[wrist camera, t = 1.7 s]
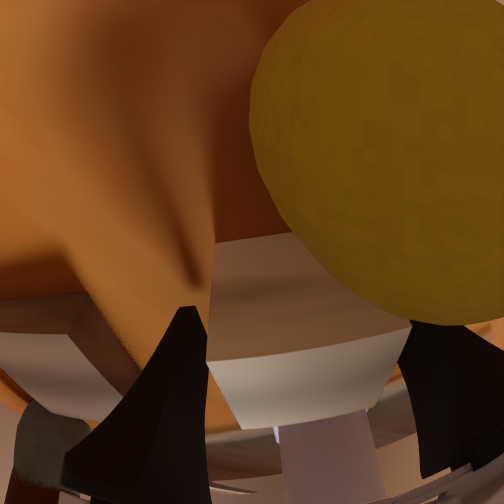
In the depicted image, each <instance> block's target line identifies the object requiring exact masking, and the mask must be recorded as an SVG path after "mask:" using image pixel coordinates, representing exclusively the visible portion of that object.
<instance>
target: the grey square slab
mask: <svg viewBox="0 0 504 504" xmlns="http://www.w3.org/2000/svg"><path fill="white" fill-rule="evenodd" d="M0 368H1V369H2V370H3V371H4V372H5V373H6V374H7V375H8V376H9V377H11V378H12V379H13V380H14V381H15V382H16V383H17V384H18V385H19V386H20V387H21V388H22V389H23V390H25V391H26V392H27V393H28V394H29V395H30V396H31V397H33V398H34V399H35V400H36V401H37V402H39V403H40V404H41V405H42V406H44V407H45V408H46V409H47V410H49V411H50V412H51V413H54V414H58V415H63V416H67V417H72V418H77V419H82V420H88V421H93V422H99V423H101V422H102V421H103V420H104V419H105V418H106V417H107V416H108V415H109V414H110V413H111V411H112V410H113V409H114V408H115V407H116V406H117V404H118V403H119V402H120V401H121V400H122V398H123V397H124V396H125V395H126V393H127V392H128V391H129V389H130V388H131V387H132V385H133V384H134V383H135V381H136V380H137V378H138V377H139V375H140V374H141V372H142V371H141V370H140V368H139V367H138V366H137V364H136V363H135V362H134V361H133V359H132V358H131V357H130V355H129V354H128V353H127V351H126V350H125V349H124V347H123V346H122V344H121V343H120V342H119V340H118V339H117V337H116V336H115V335H114V333H113V332H112V330H111V329H110V327H109V326H108V324H107V323H106V321H105V320H104V318H103V317H102V315H101V314H100V312H99V311H98V309H97V308H96V306H95V304H94V303H93V301H92V300H91V298H90V296H89V295H88V293H87V292H84V293H74V294H64V295H54V296H44V297H33V298H22V299H11V300H0Z"/></svg>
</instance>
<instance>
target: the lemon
mask: <svg viewBox="0 0 504 504" xmlns="http://www.w3.org/2000/svg"><path fill="white" fill-rule="evenodd" d="M248 124H249V131H250V136H251V141H252V145H253V150H254V155H255V160H256V165H257V169H258V171H259V174H260V176H261V178H262V180H263V182H264V184H265V186H266V188H267V190H268V192H269V194H270V196H271V198H272V200H273V202H274V204H275V206H276V208H277V210H278V212H279V213H280V215H281V217H282V218H283V220H284V221H285V223H286V224H287V225H288V227H289V228H290V229H291V231H292V232H293V233H294V234H295V235H296V236H297V237H298V239H299V240H300V241H301V242H302V243H303V244H304V245H305V247H306V248H307V249H308V250H309V251H310V252H311V253H312V255H313V256H314V257H315V258H316V259H317V260H318V261H319V263H320V264H321V265H322V266H323V267H324V268H325V269H326V270H327V271H328V272H329V273H330V274H331V275H332V276H333V277H334V278H335V279H336V280H338V281H339V282H340V283H341V284H343V285H344V286H346V287H347V288H349V289H350V290H351V291H353V292H354V293H356V294H357V295H359V296H361V297H362V298H364V299H365V300H367V301H369V302H370V303H372V304H373V305H375V306H377V307H378V308H380V309H381V310H384V311H386V312H388V313H391V314H393V315H396V316H398V317H401V318H405V319H410V320H415V321H420V322H425V323H431V324H437V325H443V326H447V325H468V324H475V323H481V322H486V321H490V320H494V319H498V318H502V317H504V6H503V5H502V4H500V3H499V2H497V1H496V0H310V1H308V2H306V3H305V4H303V5H302V6H300V7H299V8H297V9H296V10H294V11H293V12H292V13H291V14H289V16H288V17H287V18H286V19H285V21H284V22H283V23H282V24H281V26H280V27H279V28H278V30H277V31H276V32H275V34H274V35H273V36H272V37H271V39H270V40H269V41H268V43H267V44H266V45H265V47H264V49H263V52H262V54H261V57H260V60H259V63H258V66H257V68H256V71H255V74H254V77H253V80H252V83H251V90H250V106H249V123H248Z"/></svg>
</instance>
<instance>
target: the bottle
mask: <svg viewBox="0 0 504 504" xmlns="http://www.w3.org/2000/svg"><path fill="white" fill-rule="evenodd" d="M90 433H91V429H90V427H89V426H88V425H87V424H86V423H85V422H83V421H82V420H80V419H77V418H72V417H67V416H63V415H58V414H54V413H51V412H50V411H49V410H47V409H46V408H45V407H44V406H42V405H41V404H40V403H39V402H37V401H36V400H31V402H30V403H29V404H28V406H27V407H26V409H25V410H24V413H23V415H22V417H21V419H20V422H19V424H18V426H17V432H16V440H15V449H14V466H13V470H12V473H11V477H10V481H9V485H8V489H7V493H6V498H5V503H4V504H59V495H60V492H61V491H63V492H66V493H69V494H71V495H74V496H77V497H80V494H81V493H79V492H76V491H73V490H71V489H68V488H65V487H63V486H61V485H60V477H61V471H62V466H63V460H64V455H65V453H67V452H68V451H69V450H71V449H72V448H73V447H74V446H76V445H77V444H78V443H79V442H80V441H82V440H83V439H84V438H85V437H86V436H88V435H89V434H90Z"/></svg>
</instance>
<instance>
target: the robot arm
mask: <svg viewBox="0 0 504 504" xmlns="http://www.w3.org/2000/svg"><path fill="white" fill-rule="evenodd" d="M409 321H410V323H411V325H412V328H411V331H410V333H409V336H408V338H407V341H406V343H405V345H404V348H403V350H402V352H401V354H400V357H399V359H398V361H397V363H398V366H399V368H400V370H401V373H402V375H403V378H404V380H405V383H406V386H407V389H408V392H409V396H410V400H411V404H412V408H413V413H414V418H415V423H416V429H417V436H418V444H419V455H420V473H421V476H422V479H425V478H427V477H429V476H432V475H434V474H436V473H438V472H440V471H442V470H444V469H446V468H448V467H450V468H451V473H449V474H447V475H445V476H443V477H441V478H439V479H437V480H434V481H432V482H430V483H428V484H426V485H423V486H421V487H419V488H416V489H414V490H411V491H409V492H406V493H404V494H401V495H399V496H396V497H393V498H386V499H382V500H379V501H376V502H372V503H368V504H420V503H422V502H424V501H427V500H429V499H431V498H433V497H435V496H437V495H439V496H438V499H437V500H434V501H431V502H428V503H425V504H504V351H503V350H501V349H500V348H498V347H496V346H494V345H493V344H491V343H489V342H488V341H486V340H484V339H483V338H481V337H480V336H478V335H477V334H475V333H474V332H472V331H471V330H469V329H468V328H467V327H465V326H464V325H447V326H443V325H437V324H431V323H425V322H420V321H415V320H410V319H409ZM206 351H207V334H206V331H205V329H204V326H203V324H202V321H201V319H200V316H199V314H198V311H197V309H196V306H185V307H179V309H178V310H177V312H176V314H175V315H174V317H173V319H172V321H171V323H170V325H169V327H168V329H167V330H166V332H165V334H164V336H163V338H162V339H161V341H160V343H159V345H158V346H157V348H156V350H155V352H154V353H153V355H152V357H151V358H150V360H149V361H148V363H147V364H146V366H145V368H144V369H143V371H142V372H141V374H140V375H139V377H138V378H137V380H136V381H135V383H134V384H133V385H132V387H131V388H130V389H129V391H128V392H127V393H126V395H125V396H124V397H123V398H122V400H121V401H120V402H119V403H118V404H117V406H116V407H115V408H114V409H113V410H112V411H111V413H110V414H109V415H108V416H107V417H106V418H105V419H104V420H103V421H102V422H101V423H100V424H99V425H98V426H97V427H96V428H95V429H94V430H93V431H92V432H91V433H90V434H89V435H88V436H86V437H85V438H84V439H83V440H82V441H80V442H79V443H78V444H77V445H76V446H74V447H73V448H72V449H71V450H69V451H68V452H67V453H65V455H64V460H63V466H62V471H61V477H60V485H61V486H63V487H65V488H68V489H71V490H73V491H76V492H79V493H82V494H85V495H88V496H91V500H85V499H82V498H80V497H77V496H74V495H71V494H69V493H66V492H63V491H61V492H60V495H59V504H212V501H211V495H210V488H209V481H208V472H207V462H206V447H205V406H206V395H207V385H208V374H209V367H208V365H207V363H206ZM368 409H369V408H368ZM368 409H364V410H361V411H357V412H353V413H348V414H344V415H340V416H335V417H330V418H325V419H320V420H315V421H309V422H303V423H297V424H290V425H283V426H275V427H273V430H274V433H275V437H276V441H277V443H279V444H280V454H281V463H282V473H283V483H284V493H285V503H286V504H364V503H367V502H371V501H374V500H377V499H380V498H383V497H386V494H385V489H384V484H383V480H382V475H381V470H380V466H379V462H378V457H377V454H376V449H375V445H374V441H373V437H372V433H371V429H370V425H369V421H368V418H367V414H366V412H367V410H368Z"/></svg>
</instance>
